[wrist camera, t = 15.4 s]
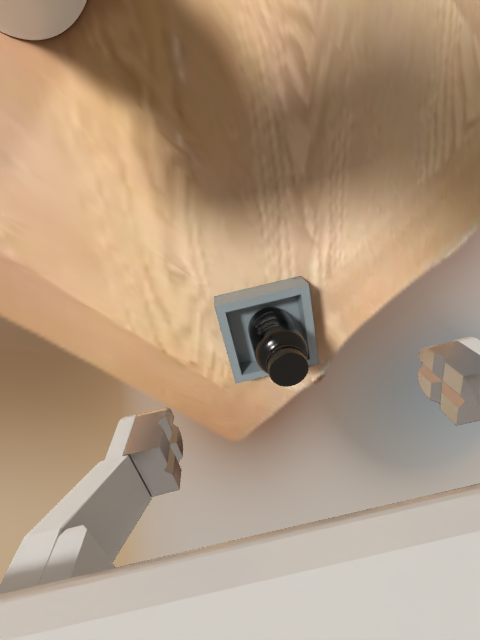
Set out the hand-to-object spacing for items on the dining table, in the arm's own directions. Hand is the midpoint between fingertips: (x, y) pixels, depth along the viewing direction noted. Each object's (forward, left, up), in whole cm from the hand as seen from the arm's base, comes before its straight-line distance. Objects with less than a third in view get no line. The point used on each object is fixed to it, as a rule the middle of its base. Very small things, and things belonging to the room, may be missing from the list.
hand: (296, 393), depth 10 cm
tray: (+15, +2, -34) cm, 37 cm away
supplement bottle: (+14, +3, -34) cm, 37 cm away
